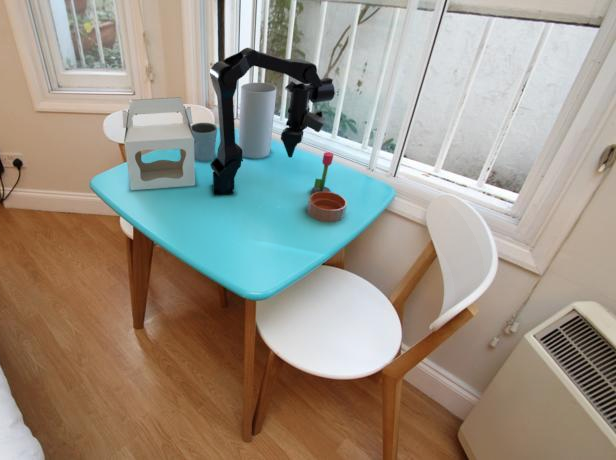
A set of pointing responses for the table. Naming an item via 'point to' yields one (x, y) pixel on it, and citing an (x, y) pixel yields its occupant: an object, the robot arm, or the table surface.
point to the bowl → (326, 206)
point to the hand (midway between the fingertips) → (292, 151)
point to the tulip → (321, 182)
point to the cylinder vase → (256, 119)
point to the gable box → (159, 145)
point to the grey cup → (204, 141)
